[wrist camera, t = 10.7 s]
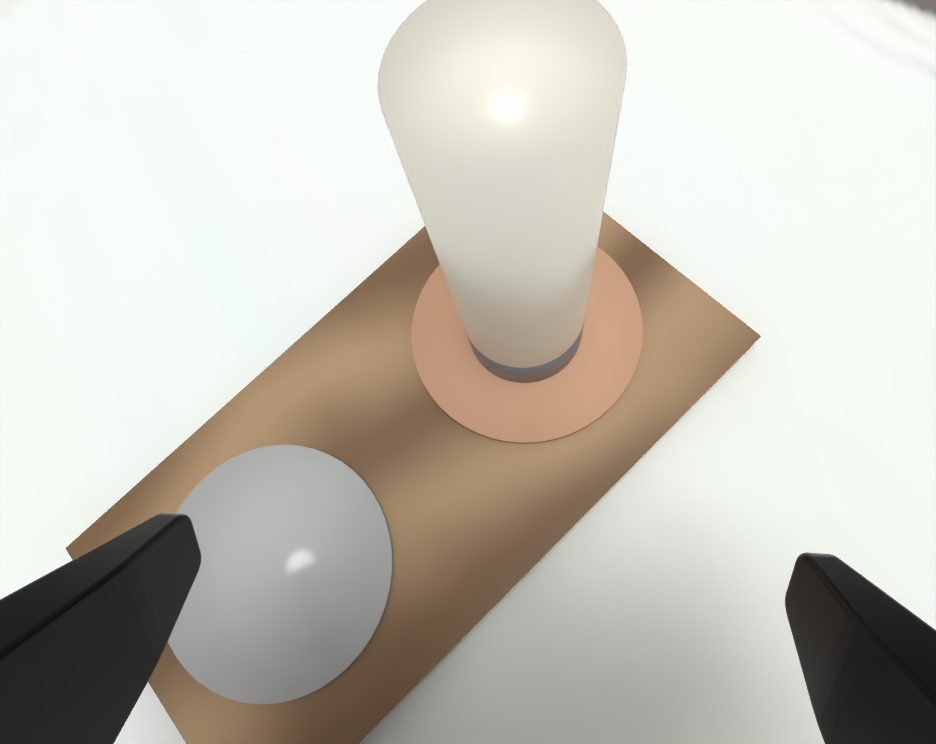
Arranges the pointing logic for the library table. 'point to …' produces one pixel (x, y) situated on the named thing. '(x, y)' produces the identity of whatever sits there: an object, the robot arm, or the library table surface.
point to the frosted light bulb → (509, 162)
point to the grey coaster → (282, 574)
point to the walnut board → (426, 477)
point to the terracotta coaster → (538, 403)
